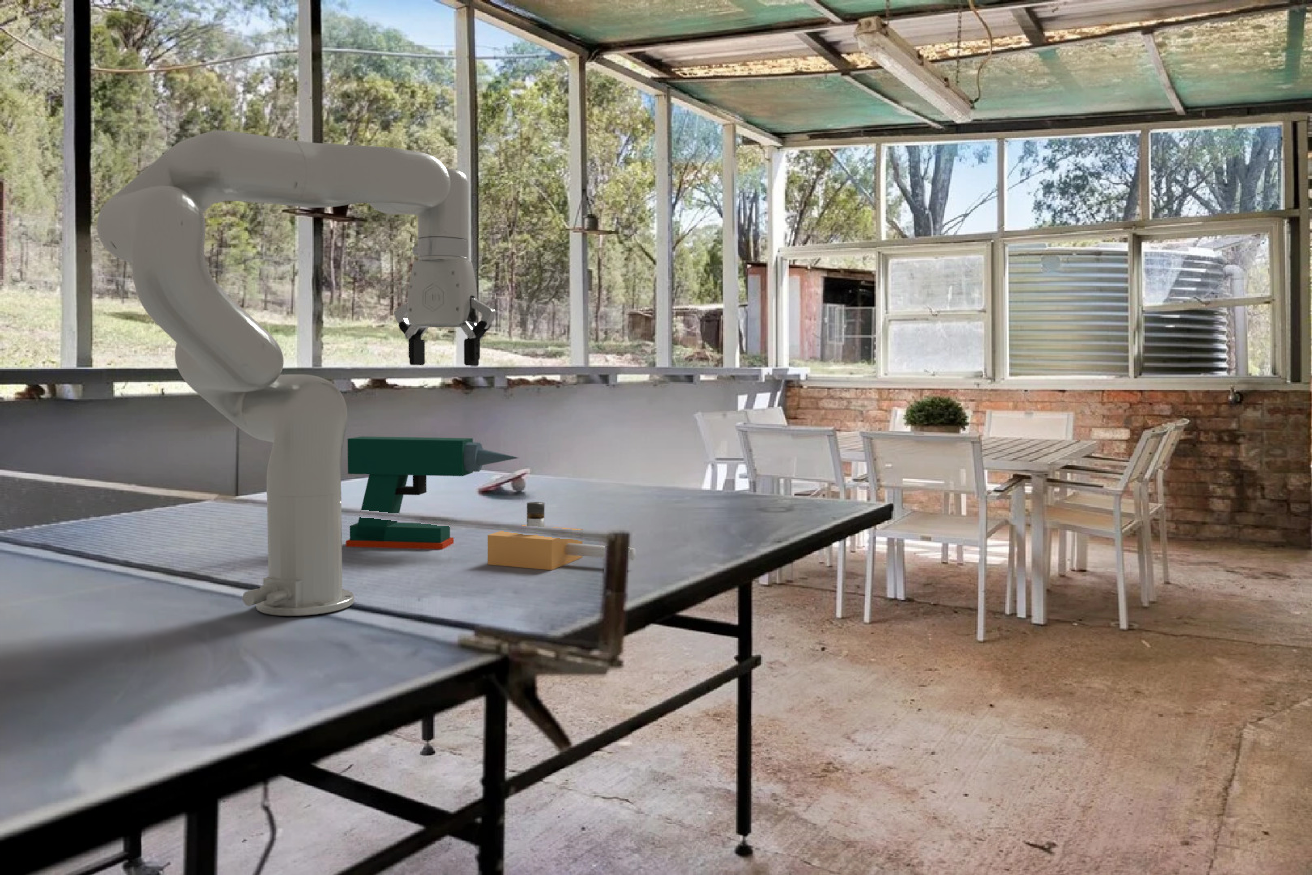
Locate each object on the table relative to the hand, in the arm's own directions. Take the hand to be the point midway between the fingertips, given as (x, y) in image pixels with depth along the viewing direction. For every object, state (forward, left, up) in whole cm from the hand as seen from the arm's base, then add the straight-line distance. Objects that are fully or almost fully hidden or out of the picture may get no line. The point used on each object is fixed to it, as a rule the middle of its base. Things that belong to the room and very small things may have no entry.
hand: (444, 365), depth 147 cm
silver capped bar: (+19, -6, -33) cm, 39 cm away
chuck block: (+19, -12, -33) cm, 40 cm away
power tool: (+25, +18, -34) cm, 46 cm away
